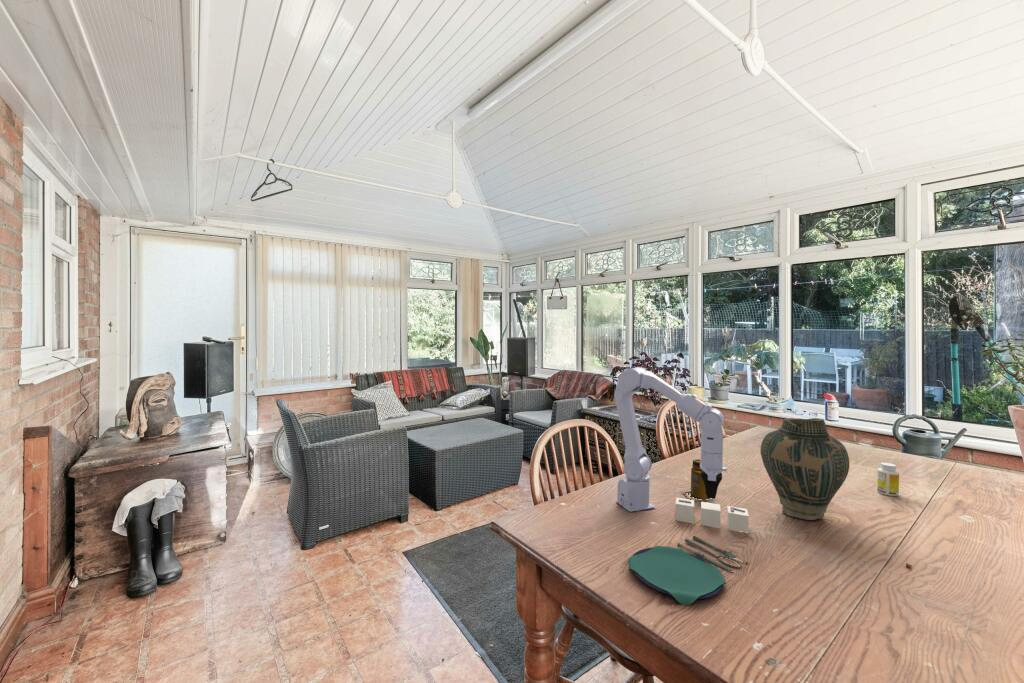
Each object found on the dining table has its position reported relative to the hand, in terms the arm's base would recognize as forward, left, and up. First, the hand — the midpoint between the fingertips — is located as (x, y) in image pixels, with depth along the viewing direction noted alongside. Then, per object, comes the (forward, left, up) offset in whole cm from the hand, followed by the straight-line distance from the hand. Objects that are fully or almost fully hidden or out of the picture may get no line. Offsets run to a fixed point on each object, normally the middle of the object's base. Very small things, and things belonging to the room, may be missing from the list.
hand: (710, 497), depth 120 cm
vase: (+31, -4, -8) cm, 32 cm away
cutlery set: (-23, -17, -8) cm, 30 cm away
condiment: (+11, +17, -8) cm, 22 cm away
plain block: (0, 0, -8) cm, 8 cm away
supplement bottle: (+76, -1, -8) cm, 76 cm away
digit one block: (-5, +5, -8) cm, 10 cm away
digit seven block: (+5, -5, -8) cm, 10 cm away
